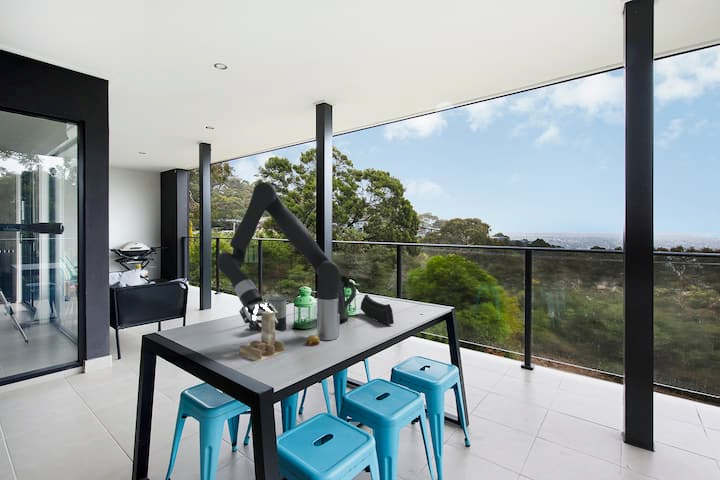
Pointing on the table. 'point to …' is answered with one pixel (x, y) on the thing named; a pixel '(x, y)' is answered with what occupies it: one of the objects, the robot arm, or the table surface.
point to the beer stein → (341, 301)
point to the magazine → (377, 310)
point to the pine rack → (257, 354)
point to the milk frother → (281, 309)
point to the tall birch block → (268, 328)
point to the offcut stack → (259, 346)
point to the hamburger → (313, 340)
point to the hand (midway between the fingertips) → (268, 327)
